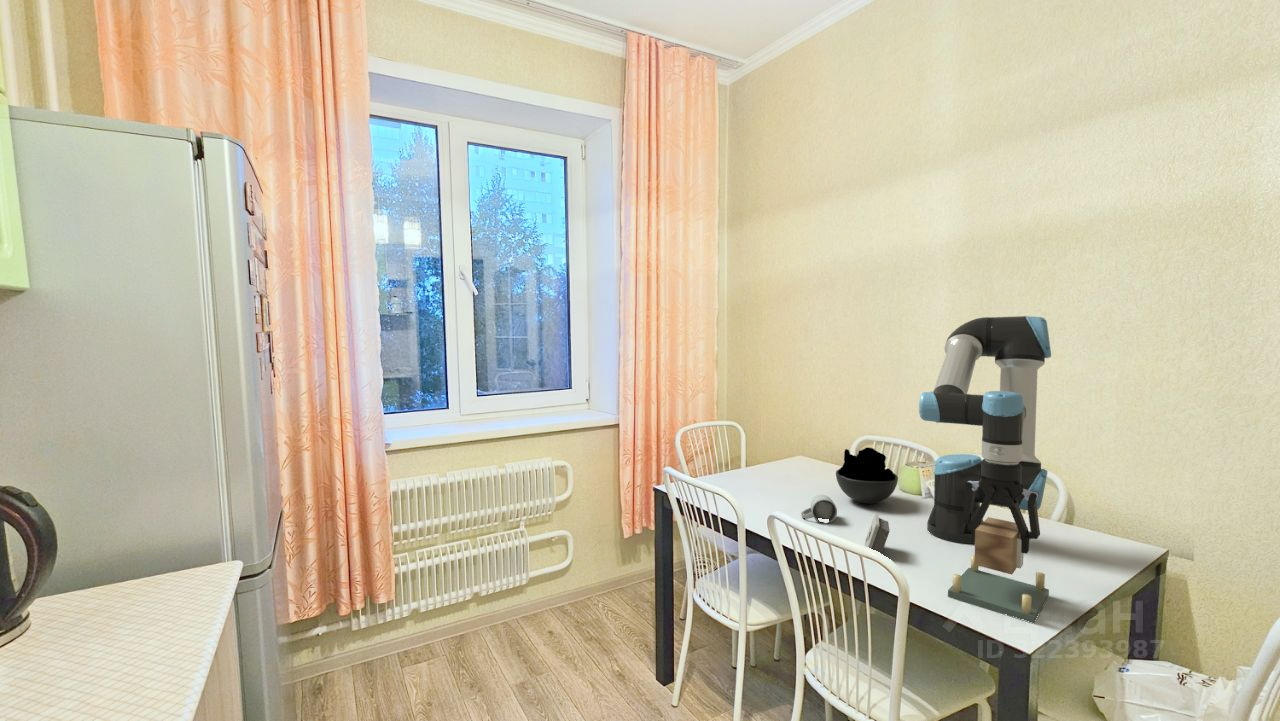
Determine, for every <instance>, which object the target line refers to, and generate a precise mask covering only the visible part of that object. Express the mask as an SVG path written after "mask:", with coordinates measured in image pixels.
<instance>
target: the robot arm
mask: <svg viewBox="0 0 1280 721" xmlns="http://www.w3.org/2000/svg"><path fill="white" fill-rule="evenodd" d="M944 353H945V356H944V359H943V362H942V366H941V368H940V371H939V372H938V373H939V374H938V377H937V380H936V383H935V385H934V388H933V391H925V392H922V393H921V394H920V396H919V400H918V401H919V402H918V414H919V417H920V419H921V420H922V421H926V422H935V423H939V424H940V423H943V424H957V425H969V426H978V427H979V426H980V427H982V430H981V431H982V433H981V434H982V435H981V436H982V437H981V457H982V458H981V457H980V456H979V455H976V454H967V453H958V454H957V453H956V454H946V455H942V456H939V457H938V458H937V459H936V460H935V462H934V472H933V474H934V482H933V483H934V486H933V487H934V488H933V490H934V495H933V496H934V498H933V500H934V501H933V507H932V509H931V512H930V514H929V517H928V519H927V522H926V529H927V531H929V532H930V535H932V534H933V535H932V536H934V535H935V537H937V538H939V539H942V540H945V541H949V542H953V541H954V543H962V544H975V529H977V528H978V527H979V526H980V525H981V524H982V523H983V522H984V517H985V515H986V513H987V512H988V509H989V507H990V505H991V506H997V507H1003V508H1009V509H1010V512H1011V516H1012V518H1013V520H1014V523H1016V526H1017V528H1018V531H1019V533H1020V536H1019V537H1018V538H1017V558H1016V569H1021V568H1022V567H1023V566H1024V555H1027V554H1028V552H1030V540H1032V539H1034V540H1037V539H1038V538H1039V537H1040V535H1041V531H1040V529H1041V528H1040V522H1039V520H1040V519H1039V512H1038V510H1040V508H1041V506H1042V502H1043V499H1044V498H1043V497H1044V492H1045V489H1046V488H1045V487H1046V483H1047V478H1048V470H1047V469H1045V468H1042V462H1041V460H1040V459H1039V458H1037V456H1036V454H1035V452H1036V451H1035V450H1036V430H1037V429H1036V428H1037V427H1036V426H1037V425H1036V424H1037V398H1038V397H1037V396H1038V395H1037V394H1038V392H1037V391H1038V371H1039V369H1040V368H1041V367H1043V366H1044V365H1045V362H1046V359H1049V358H1051V357H1052V351H1051V344H1050V335H1049V328H1048V322H1047V320H1046V318H1045V317H1042V316H1031V315H1029V316H1028V315H1024V316H1023V315H1021V316H1018V315H1017V316H997V317H993V316H992V317H987V316H986V317H979V318H974V319H971V320H969V321H967V322H965V323H963V324H961V325H959V327H957V328H955V329H954V331H952V332H951V333H950V335H949V336H948V337H947V339H946V341H945V343H944ZM981 357H988V358H989V357H992V358H994V364H996V365H997V366H998V367H999V368H1000V374H999V375H1000V376H999V377H1000V380H999V390H991V391H987V392H985V393H984V394H970V393H969V392H968V391H969V388H970V384H971V380H972V376H973V373H974V369H975V365H976V361H977V360H979V359H980V358H981ZM1022 510H1023V511H1027V512H1028V513H1027V514H1028V522H1029V528H1028V525H1027V524H1026V520H1025V518H1024V516H1023V514H1022ZM1029 529H1030V530H1029ZM929 532H928V533H929Z"/></svg>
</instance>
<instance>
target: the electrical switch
mask: <svg viewBox="0 0 1280 721" xmlns="http://www.w3.org/2000/svg"><path fill="white" fill-rule="evenodd" d="M871 520H872V521H871V523H870V526H869V529H868V531H867V534H866V538H865V542H864V547H865V546H866V547H869V548H871V549H873V550H876V551H878V552H880V553H882V554H883V551H884V549H885V545H886V543H887V540H888V537H889V533H890V532H891V531H890V526H889V525H890V523H889V520H885V519H883V518H882V517H881V518H880V517H879V514H877V513H875V514H874V515H873V518H872V519H871Z"/></svg>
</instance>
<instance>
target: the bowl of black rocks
mask: <svg viewBox="0 0 1280 721" xmlns="http://www.w3.org/2000/svg"><path fill="white" fill-rule="evenodd" d="M843 454H844V455H843V459H844V460H843V465H842V466H841V467H840V468H839V469H837V470H836V471H835V477H836V481H837V483H838V486H839V487H840V490H842V492H843V493H844V494H845V495H846V496H847V497H848V498H850V499H851V500H853V501H855V502H857V503H861V504H865V503H866V504H867V505H868V504H869V505H870V504H871V505H872V504H873V505H874V504H878V503H882V501H885V500H886V499H889V497H890V496H891V495H893V493H894V492H895V490H896V489H897V485H898V482H899V477H898V475H897V474H896V473H894V471H892V469H890V468H886V460H887V457H886V455H885V453H882V452H879V451H877V450H875V448H873V447H865V448H863V449H860V450H858V453H857V454H856V455H853V454H852V453H851V452H850V450H849V449H848V448H845V450H844V452H843ZM866 504H865V505H866Z"/></svg>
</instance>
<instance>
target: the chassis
mask: <svg viewBox="0 0 1280 721" xmlns="http://www.w3.org/2000/svg"><path fill="white" fill-rule="evenodd" d="M1045 578H1046V574H1045V573H1044V572H1041V571H1040V572H1039V571H1036V572H1035V585H1034V584H1030V583H1027V582H1024V581H1020V580H1015V579H1011V578H1009V577H1006V576H1005V577H1004V576H1002V575H1001V576H1000V575H997V574H994V573H991V572H986V571H983V570H979V566H977V565H975V554H972V555H971V556H970V567H968V568H967V569H966V570H965V571H964V572H963V573H962V574H961V575H960V574H957V573H955V574H952V585H951V586H950V587H949V588H948V590H947V597H948V598H951V599H955V600H958V601H959V602H963V603H966V604H970V605H972V606H977V607H980V608H983V609H986V610H990V611H992V612H994V613H995V612H996V613H999V614H1002V615H1005V614H1007V615H1006V616H1008V615H1010V616H1009V617H1011V616H1014V617H1017V618H1020V619H1019V620H1021V619H1024V620H1027V621H1029V622H1028V623H1030V622H1032V623H1031V624H1033V623H1034V622H1035V623H1036V621H1037V619H1038V617H1039V615H1040V613H1041V612H1042V610H1041V609H1043V608H1044V606H1045V604H1046V602H1047V600H1048V598H1049V596H1050V589H1049V588H1045V583H1046V582H1045ZM1045 601H1046V602H1045ZM1044 603H1045V604H1044ZM1043 605H1044V606H1043ZM1042 607H1043V608H1042ZM1038 614H1039V615H1038ZM1037 616H1038V617H1037ZM1014 617H1013V618H1014ZM1017 618H1016V619H1017ZM1036 618H1037V619H1036ZM1024 620H1023V621H1024ZM1035 620H1036V621H1035ZM1027 621H1026V622H1027ZM1035 623H1034V624H1035Z"/></svg>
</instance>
